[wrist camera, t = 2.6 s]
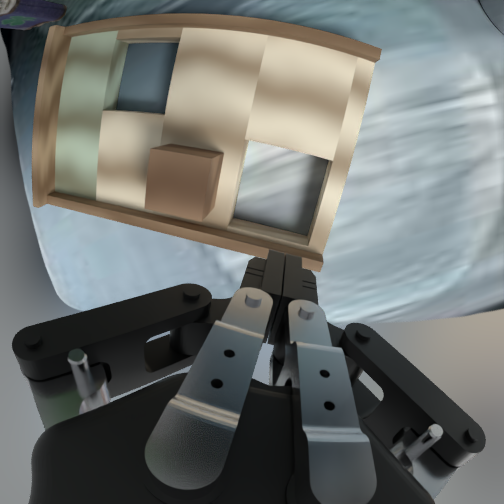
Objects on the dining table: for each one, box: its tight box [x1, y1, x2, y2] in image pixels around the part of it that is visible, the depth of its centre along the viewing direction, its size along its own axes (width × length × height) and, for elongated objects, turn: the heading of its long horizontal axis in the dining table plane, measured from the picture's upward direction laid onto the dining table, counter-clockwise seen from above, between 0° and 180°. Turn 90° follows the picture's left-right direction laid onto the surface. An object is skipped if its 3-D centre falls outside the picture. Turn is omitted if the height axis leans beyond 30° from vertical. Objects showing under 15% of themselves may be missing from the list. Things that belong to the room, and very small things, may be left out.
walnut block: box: [144, 144, 224, 222], centre depth 23 cm, size 5×5×4 cm
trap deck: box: [32, 13, 382, 272], centre depth 23 cm, size 20×31×6 cm, turn 78°
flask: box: [0, 0, 67, 30], centre depth 16 cm, size 9×3×11 cm, turn 77°
